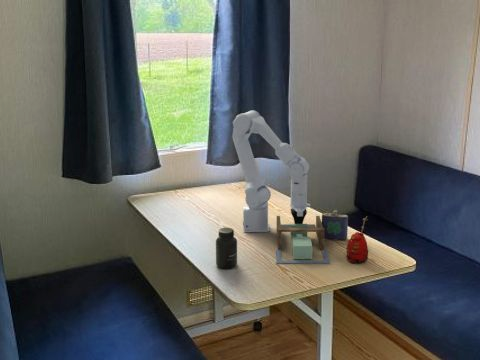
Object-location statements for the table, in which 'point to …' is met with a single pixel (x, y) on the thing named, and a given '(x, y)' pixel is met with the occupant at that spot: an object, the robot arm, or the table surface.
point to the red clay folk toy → (357, 247)
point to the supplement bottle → (226, 249)
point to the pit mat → (289, 226)
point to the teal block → (301, 243)
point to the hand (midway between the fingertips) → (298, 228)
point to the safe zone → (325, 255)
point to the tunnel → (318, 230)
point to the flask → (335, 226)
